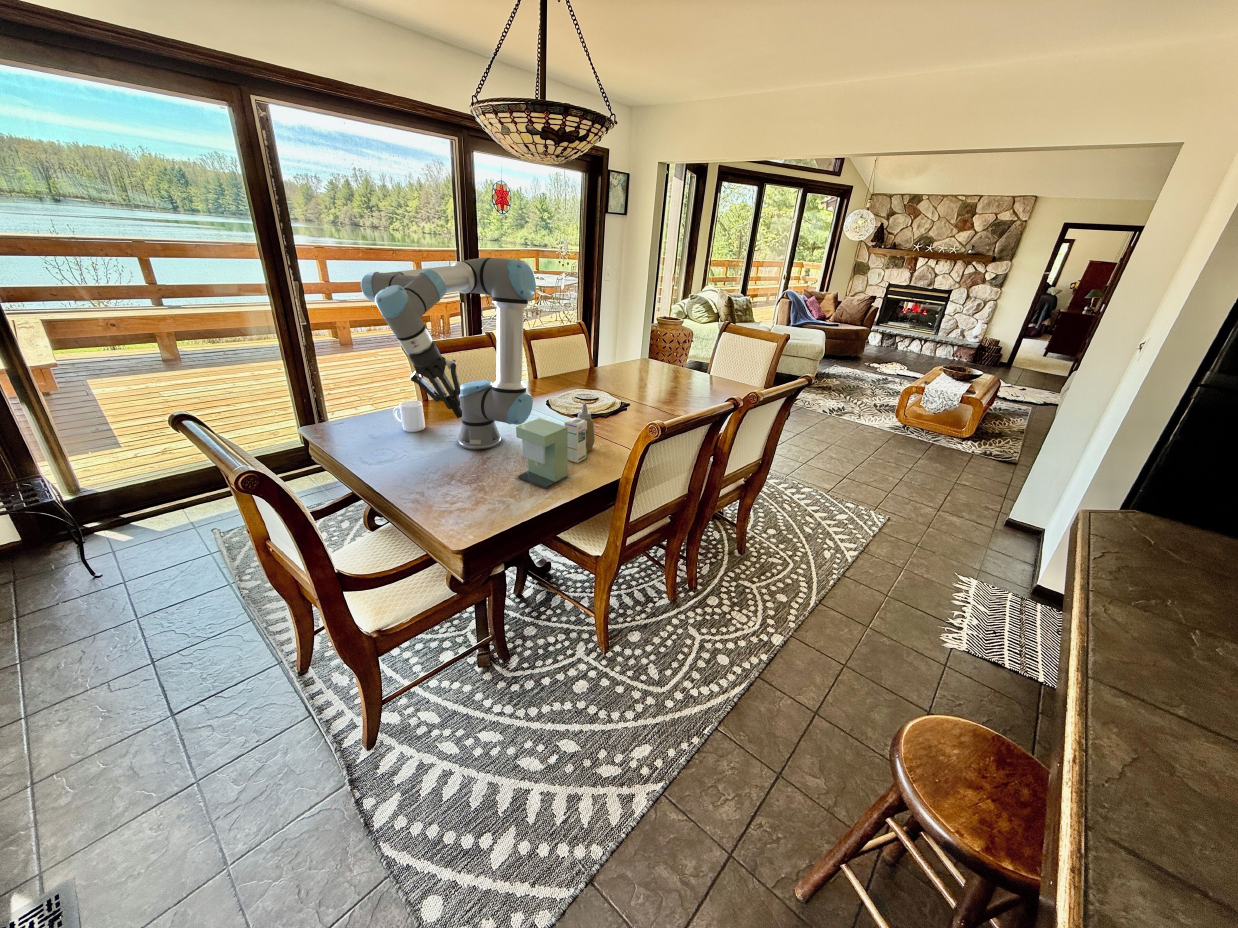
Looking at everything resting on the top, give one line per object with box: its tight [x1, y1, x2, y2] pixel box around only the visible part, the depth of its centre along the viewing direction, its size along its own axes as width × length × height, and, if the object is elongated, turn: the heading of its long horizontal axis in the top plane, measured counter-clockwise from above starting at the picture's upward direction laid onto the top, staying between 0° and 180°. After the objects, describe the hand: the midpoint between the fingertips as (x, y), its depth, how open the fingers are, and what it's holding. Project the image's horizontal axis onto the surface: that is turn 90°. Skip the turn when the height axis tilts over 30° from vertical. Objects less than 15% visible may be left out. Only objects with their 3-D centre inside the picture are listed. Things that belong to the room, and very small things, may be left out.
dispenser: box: [515, 417, 569, 490], centre depth 153 cm, size 10×12×18 cm
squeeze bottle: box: [577, 402, 596, 453], centre depth 175 cm, size 8×8×18 cm
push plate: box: [521, 439, 545, 464], centre depth 149 cm, size 1×9×6 cm, turn 56°
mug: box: [392, 400, 426, 433], centre depth 188 cm, size 12×8×10 cm
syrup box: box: [564, 416, 588, 464], centre depth 169 cm, size 6×6×14 cm
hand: (459, 414), depth 141 cm, fingers closed
